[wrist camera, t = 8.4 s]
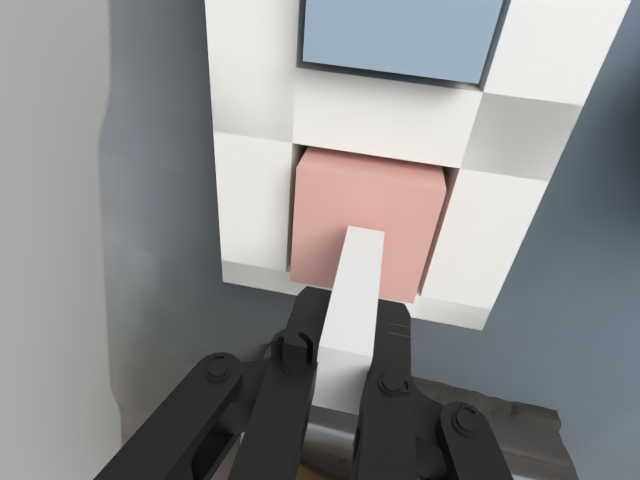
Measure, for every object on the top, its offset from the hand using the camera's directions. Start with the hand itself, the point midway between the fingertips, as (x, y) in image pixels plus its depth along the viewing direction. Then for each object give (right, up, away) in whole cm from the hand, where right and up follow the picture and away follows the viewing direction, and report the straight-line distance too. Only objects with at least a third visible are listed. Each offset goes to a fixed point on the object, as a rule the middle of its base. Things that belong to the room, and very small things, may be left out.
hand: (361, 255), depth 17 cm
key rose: (+1, +3, +4) cm, 5 cm away
